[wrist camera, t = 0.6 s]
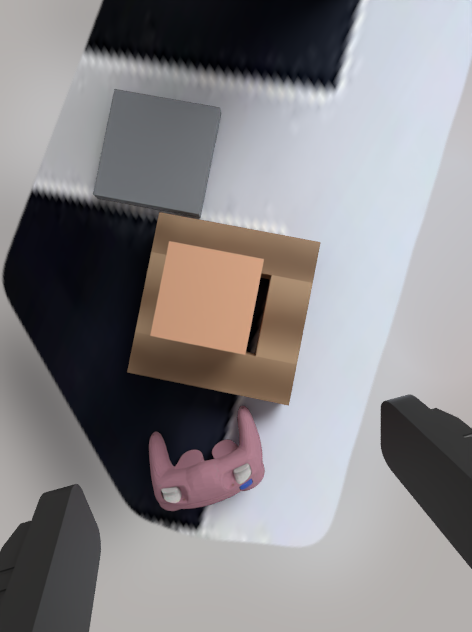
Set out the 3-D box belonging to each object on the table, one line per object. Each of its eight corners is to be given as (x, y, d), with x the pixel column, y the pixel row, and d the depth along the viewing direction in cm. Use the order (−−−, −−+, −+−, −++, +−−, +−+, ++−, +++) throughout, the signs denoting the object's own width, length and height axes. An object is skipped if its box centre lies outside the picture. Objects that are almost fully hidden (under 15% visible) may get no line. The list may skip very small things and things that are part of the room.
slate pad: (118, 96, 34) (114, 89, 33) (221, 113, 34) (220, 107, 33) (97, 198, 34) (93, 194, 33) (200, 217, 34) (198, 214, 33)
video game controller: (164, 463, 35) (157, 532, 29) (146, 429, 33) (134, 494, 27) (261, 434, 35) (275, 497, 28) (248, 398, 33) (261, 456, 26)
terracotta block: (204, 277, 33) (169, 241, 18) (257, 287, 33) (264, 259, 18) (194, 330, 33) (150, 335, 18) (246, 340, 33) (245, 354, 18)
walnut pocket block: (167, 221, 34) (159, 212, 31) (313, 249, 33) (320, 242, 30) (137, 367, 34) (127, 372, 30) (285, 397, 33) (288, 405, 30)
